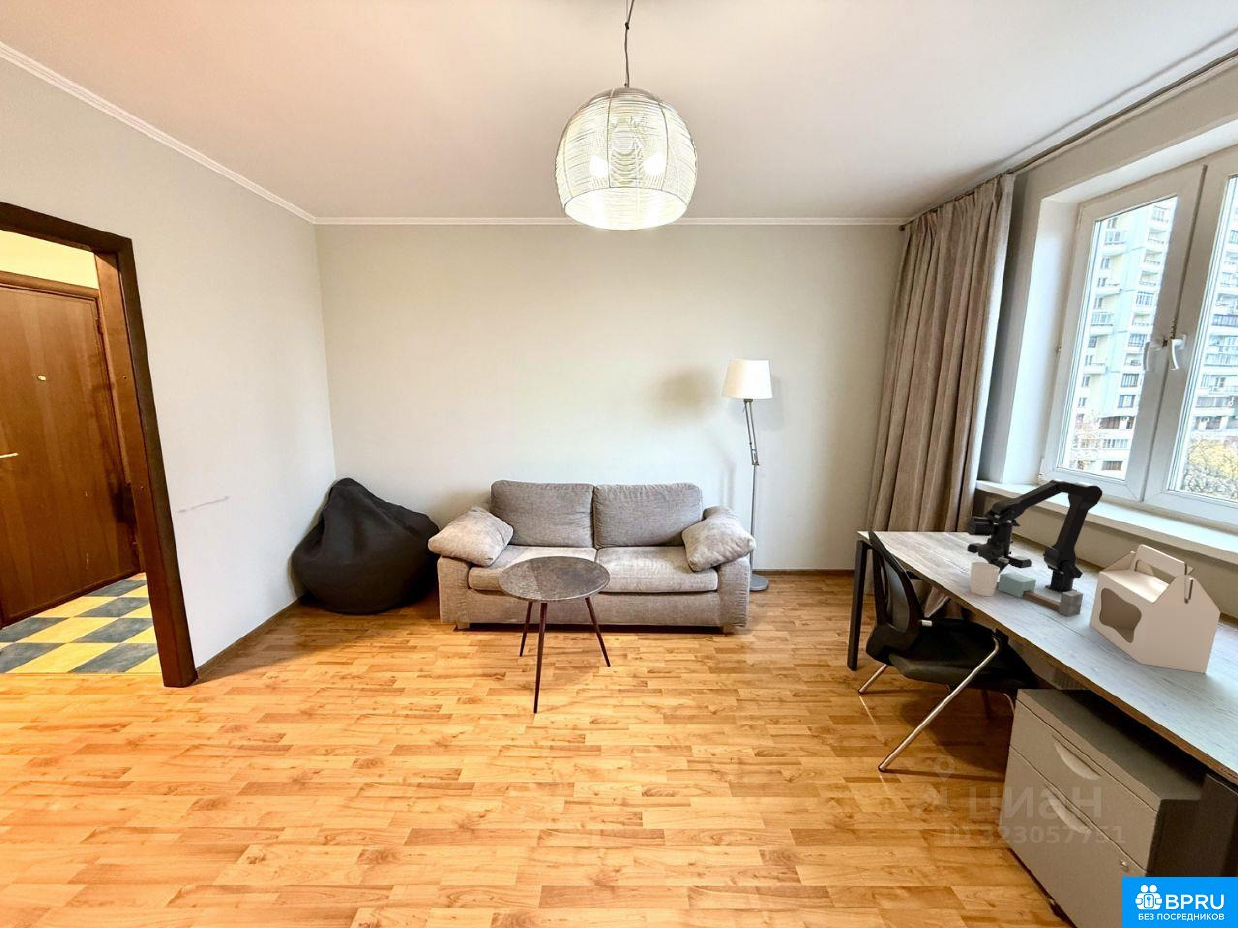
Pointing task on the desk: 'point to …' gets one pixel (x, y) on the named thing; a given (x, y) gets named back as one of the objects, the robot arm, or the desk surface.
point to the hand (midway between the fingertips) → (994, 577)
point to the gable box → (1155, 611)
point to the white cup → (984, 578)
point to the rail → (1066, 606)
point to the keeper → (1016, 584)
